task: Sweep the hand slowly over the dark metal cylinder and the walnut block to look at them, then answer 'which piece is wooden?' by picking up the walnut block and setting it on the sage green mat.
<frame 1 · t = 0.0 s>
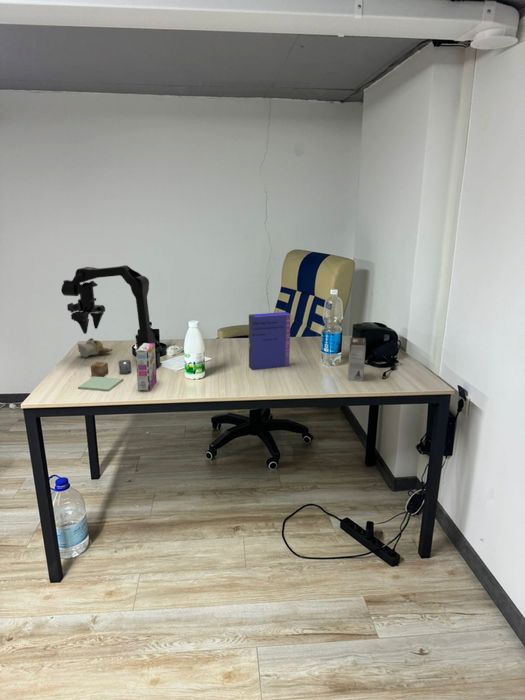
hand: (90, 331, 210), 15 cm above the table, fingers open, 9 cm apart
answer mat: (101, 384, 188), on the table
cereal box: (269, 367, 210), on the table
walnut block: (100, 375, 199), on the table
metal cylinder: (125, 372, 202), on the table
coffee box: (355, 377, 198), on the table
candy bar box: (148, 386, 187), on the table
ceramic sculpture: (94, 355, 225), on the table
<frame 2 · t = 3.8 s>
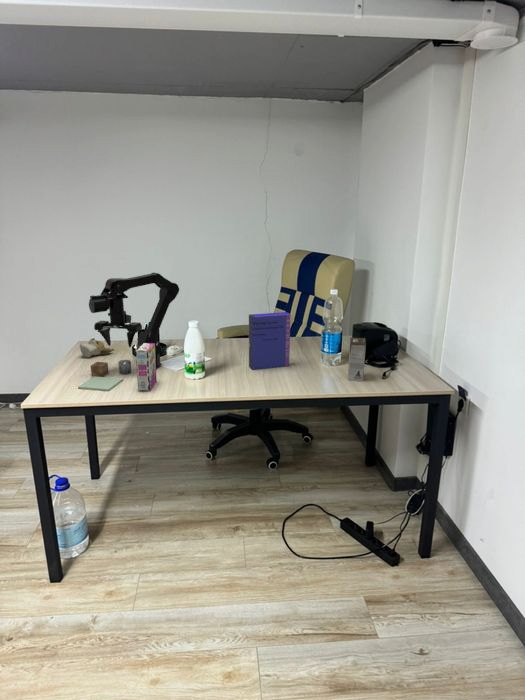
hand: (119, 346, 197), 12 cm above the table, fingers open, 9 cm apart
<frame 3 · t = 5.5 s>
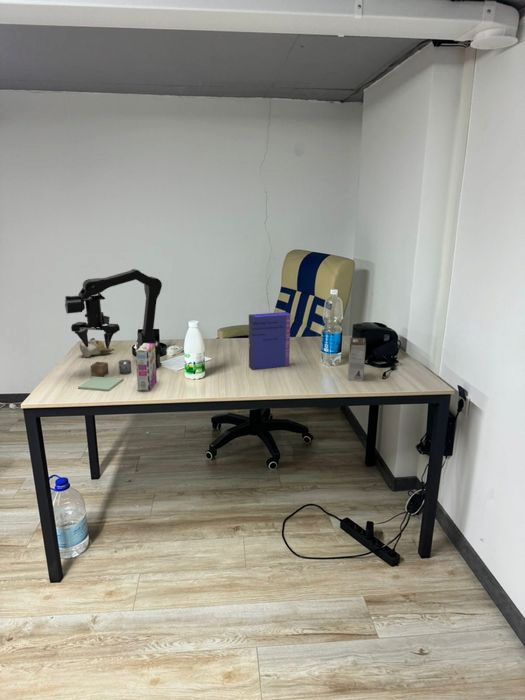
hand: (97, 347, 195), 12 cm above the table, fingers open, 9 cm apart
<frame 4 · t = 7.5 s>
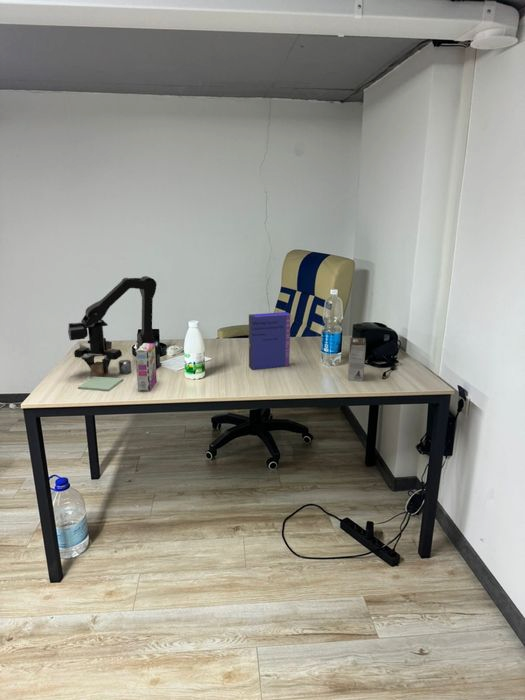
hand: (100, 372, 198), 1 cm above the table, fingers closed on walnut block, 5 cm apart
walnut block: (100, 375, 199), on the table, touching gripper
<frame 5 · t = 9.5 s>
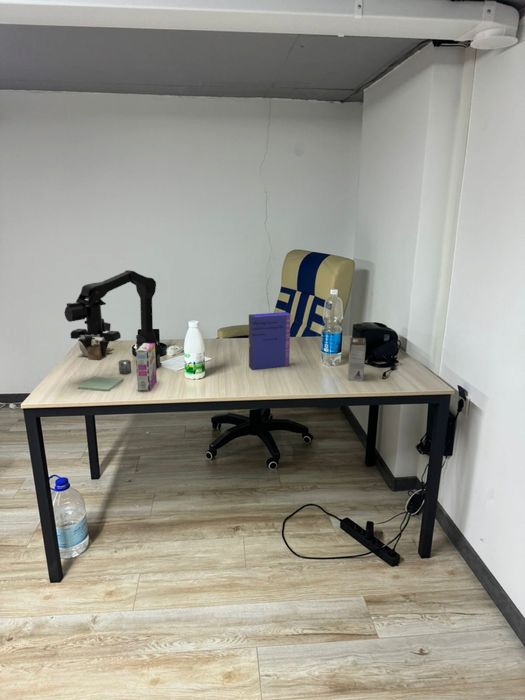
hand: (97, 355, 187), 11 cm above the table, fingers closed on walnut block, 5 cm apart
walnut block: (97, 358, 188), point 10 cm above the table, touching gripper
when the fingers open (3 cm above the table, at t = 11.5 s): walnut block drops 1 cm, resting on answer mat.
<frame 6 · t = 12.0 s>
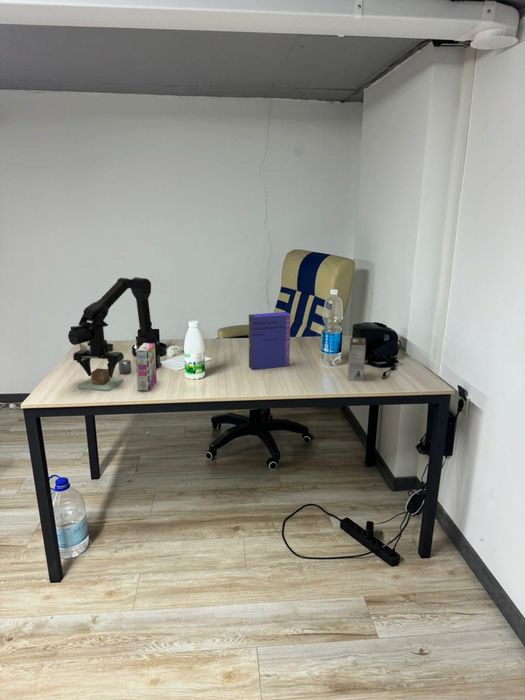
hand: (100, 376, 187), 3 cm above the table, fingers open, 9 cm apart
walnut block: (101, 382, 188), point 1 cm above the table, touching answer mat
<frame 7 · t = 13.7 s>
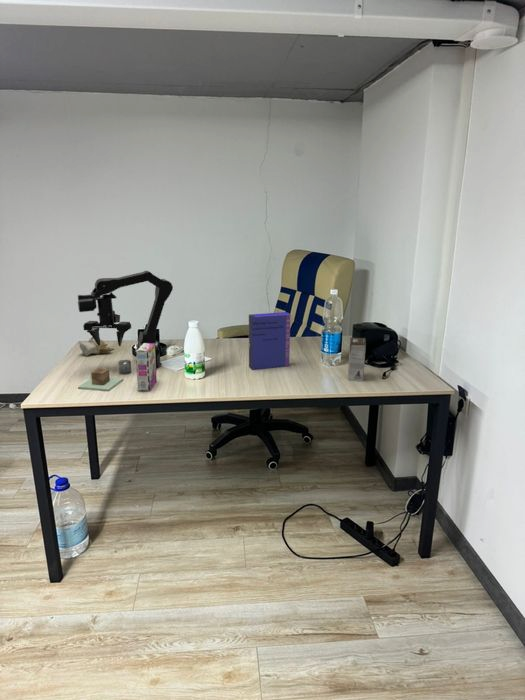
hand: (109, 345, 199), 12 cm above the table, fingers open, 9 cm apart
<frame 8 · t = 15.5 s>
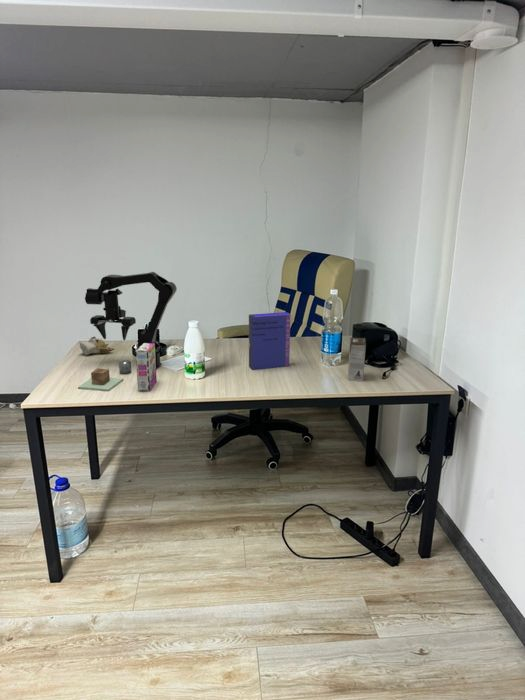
hand: (114, 339, 207), 12 cm above the table, fingers open, 9 cm apart
at the end: walnut block inside the target area on the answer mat (0.0 cm from its centre), point 0.8 cm above the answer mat's base; walnut block tilted 0°; metal cylinder moved 0.1 cm from its start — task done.
